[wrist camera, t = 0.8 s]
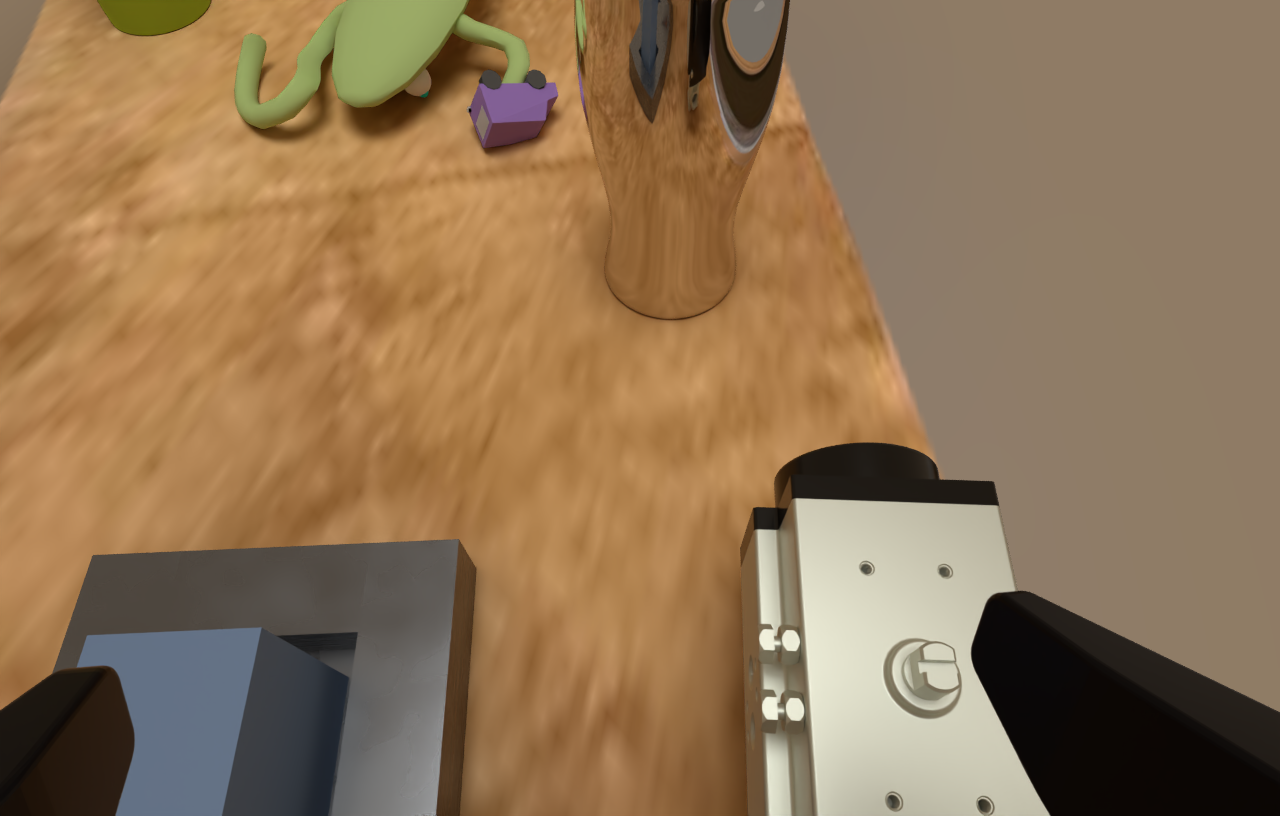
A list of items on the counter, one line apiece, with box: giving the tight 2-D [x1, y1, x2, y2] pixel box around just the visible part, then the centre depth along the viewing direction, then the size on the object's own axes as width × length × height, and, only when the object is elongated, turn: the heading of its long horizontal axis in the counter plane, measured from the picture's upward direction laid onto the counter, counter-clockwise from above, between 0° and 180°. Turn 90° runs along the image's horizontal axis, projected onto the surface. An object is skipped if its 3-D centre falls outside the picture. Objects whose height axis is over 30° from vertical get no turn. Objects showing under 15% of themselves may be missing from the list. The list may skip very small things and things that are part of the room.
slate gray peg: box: [77, 627, 349, 816], centre depth 21 cm, size 4×4×6 cm
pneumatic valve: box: [740, 443, 1050, 816], centre depth 19 cm, size 6×12×12 cm, turn 178°
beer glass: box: [574, 0, 790, 319], centre depth 28 cm, size 7×7×15 cm
